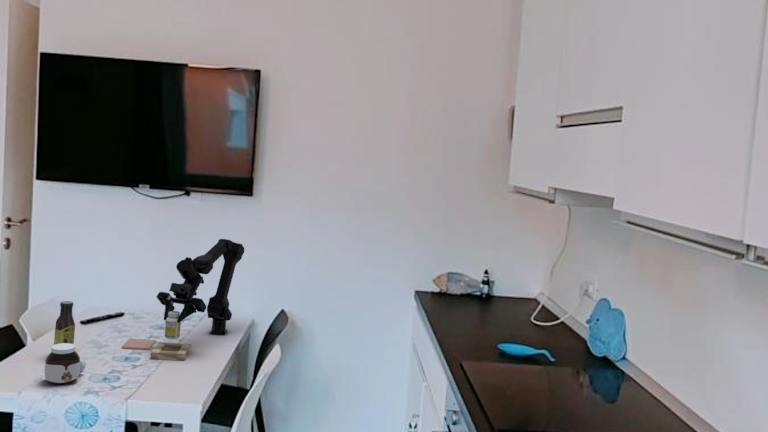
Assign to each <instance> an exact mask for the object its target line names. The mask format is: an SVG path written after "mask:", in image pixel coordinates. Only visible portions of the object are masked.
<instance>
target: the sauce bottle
mask: <svg viewBox="0 0 768 432" xmlns="http://www.w3.org/2000/svg"><path fill="white" fill-rule="evenodd" d="M59 306H60V311H59V316H58V317H57V319H56V320H55V327H54V337H53V338H54V341H53V345H55V344H60V343H70V344H74V345H75V331H76V323H75V320H74V317H73V307H74V301H71V300H70V301H69V300H65V301H64V300H63V301H61V302H60V305H59Z"/></svg>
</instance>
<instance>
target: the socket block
mask: <svg viewBox="0 0 768 432" xmlns="http://www.w3.org/2000/svg"><path fill="white" fill-rule="evenodd" d="M191 345H192V344H191V343H180V342H179V343H178V342H161V341H160V342H159V341H158V343H157V344H156V345H155V346H154V348H153V349H152V350H151V351H150V357H149V359H150V360H158V361H160V360H161V361H162V360H163V361H176V362H177V361H180V362H184V361H185V360H186V358H187V357H188V355H189V353H190V352H191V348H192V346H191Z"/></svg>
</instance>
